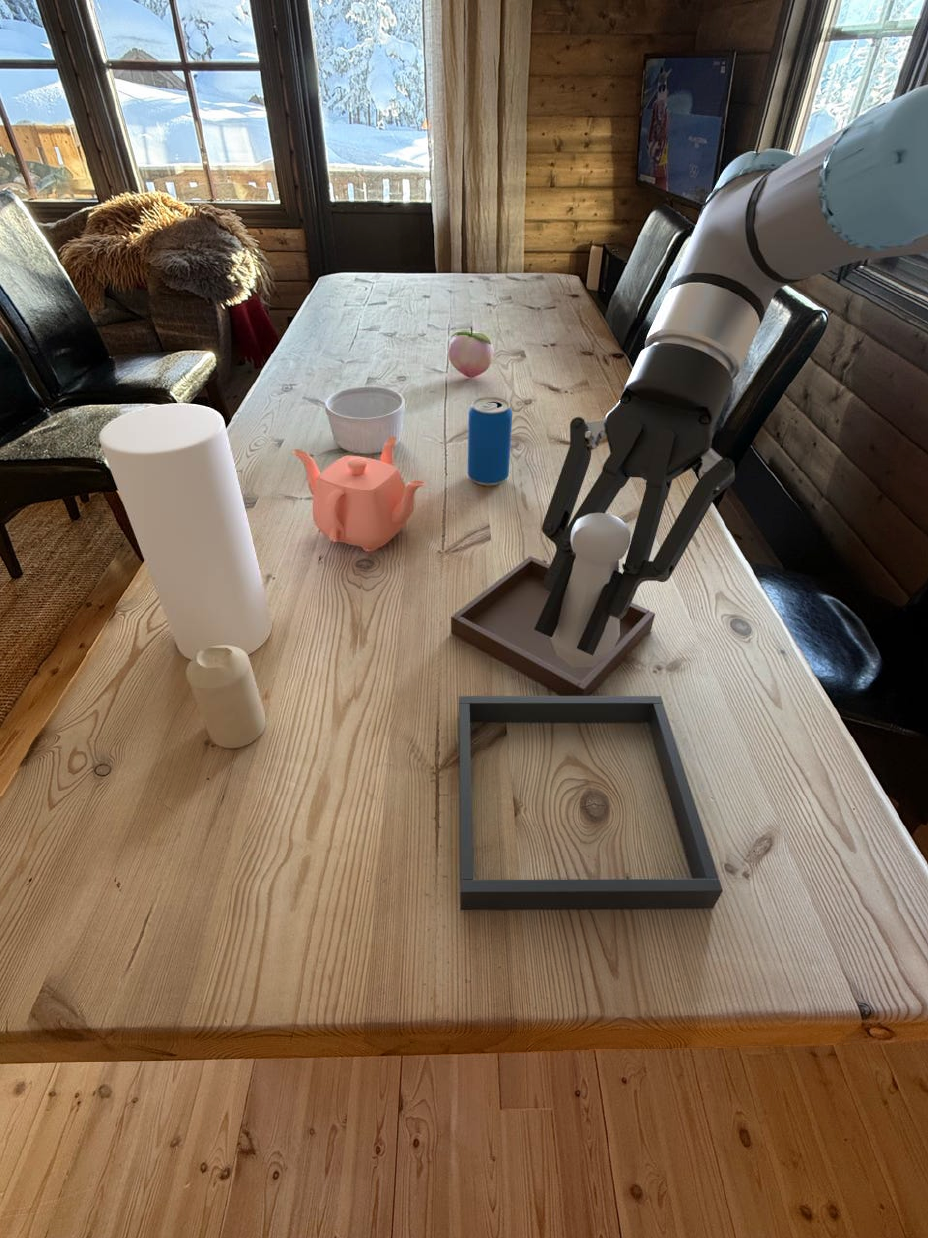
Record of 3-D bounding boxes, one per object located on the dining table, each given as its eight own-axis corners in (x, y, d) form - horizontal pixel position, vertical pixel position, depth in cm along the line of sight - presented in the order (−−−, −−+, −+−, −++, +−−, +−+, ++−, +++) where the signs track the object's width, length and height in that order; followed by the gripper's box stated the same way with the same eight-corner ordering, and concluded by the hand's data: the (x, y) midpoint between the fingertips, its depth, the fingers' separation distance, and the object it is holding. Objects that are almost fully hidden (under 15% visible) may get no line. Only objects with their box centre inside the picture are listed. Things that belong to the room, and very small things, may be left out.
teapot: (303, 515, 95) (291, 444, 88) (399, 499, 99) (395, 430, 92) (322, 572, 85) (311, 497, 78) (428, 551, 89) (426, 478, 81)
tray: (651, 630, 77) (655, 613, 75) (580, 707, 68) (584, 689, 66) (528, 571, 85) (529, 555, 84) (450, 633, 76) (450, 616, 75)
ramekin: (413, 453, 110) (411, 413, 105) (333, 462, 107) (328, 421, 103) (399, 420, 120) (397, 382, 115) (326, 427, 117) (321, 389, 113)
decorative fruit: (499, 374, 137) (502, 323, 131) (484, 387, 132) (486, 336, 125) (458, 367, 140) (459, 317, 134) (442, 380, 135) (441, 329, 128)
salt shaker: (559, 621, 59) (577, 494, 51) (622, 640, 57) (651, 512, 49) (536, 662, 55) (552, 532, 47) (602, 684, 53) (631, 553, 45)
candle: (267, 703, 68) (248, 631, 61) (265, 745, 64) (243, 672, 57) (212, 709, 67) (186, 637, 60) (205, 752, 63) (177, 680, 56)
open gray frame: (654, 715, 67) (661, 695, 65) (713, 909, 52) (723, 891, 50) (459, 715, 67) (459, 695, 65) (460, 910, 52) (460, 892, 50)
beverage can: (516, 477, 104) (522, 404, 96) (489, 492, 101) (492, 417, 93) (486, 463, 107) (489, 391, 100) (459, 477, 104) (459, 404, 96)
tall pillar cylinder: (290, 632, 76) (245, 427, 60) (204, 678, 70) (129, 466, 54) (242, 590, 82) (189, 393, 65) (159, 630, 76) (79, 425, 60)
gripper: (791, 411, 51) (667, 688, 51) (602, 367, 58) (493, 612, 58) (799, 362, 44) (655, 682, 45) (583, 318, 51) (460, 596, 51)
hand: (564, 642), depth 51 cm, fingers closed on salt shaker, 3 cm apart
